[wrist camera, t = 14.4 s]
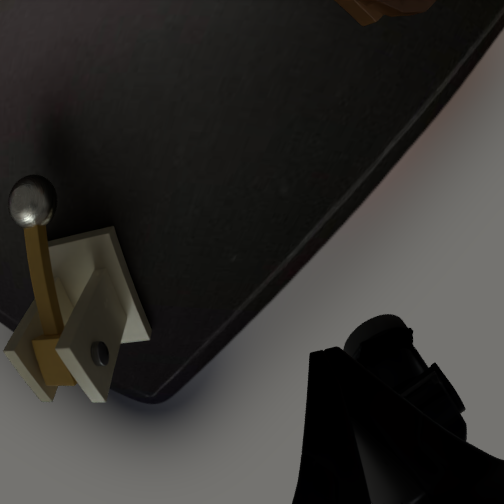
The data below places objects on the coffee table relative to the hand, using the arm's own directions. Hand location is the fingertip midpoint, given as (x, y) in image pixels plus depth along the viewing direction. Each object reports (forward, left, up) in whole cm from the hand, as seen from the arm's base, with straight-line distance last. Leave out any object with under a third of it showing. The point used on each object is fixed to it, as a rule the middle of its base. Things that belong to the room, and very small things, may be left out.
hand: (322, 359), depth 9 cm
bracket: (+13, +4, -13) cm, 19 cm away
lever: (+13, +1, -9) cm, 16 cm away
